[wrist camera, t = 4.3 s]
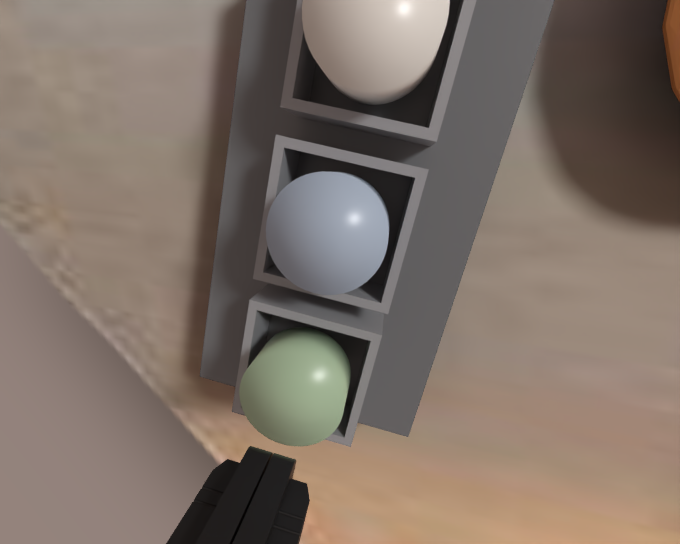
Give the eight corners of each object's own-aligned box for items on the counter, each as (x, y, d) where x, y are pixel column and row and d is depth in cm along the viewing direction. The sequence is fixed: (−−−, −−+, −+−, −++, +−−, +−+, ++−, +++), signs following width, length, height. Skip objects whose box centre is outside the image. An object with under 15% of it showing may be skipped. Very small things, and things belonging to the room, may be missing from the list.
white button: (307, 91, 14) (290, 75, 12) (331, -44, 13) (317, -92, 10) (420, 116, 14) (425, 104, 11) (456, -21, 12) (470, -66, 10)
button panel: (223, 351, 23) (173, 403, 18) (278, -32, 17) (227, -119, 12) (406, 403, 22) (409, 473, 17) (531, 16, 16) (594, -56, 11)
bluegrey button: (277, 263, 16) (257, 278, 14) (295, 160, 15) (276, 158, 12) (374, 288, 16) (371, 308, 13) (401, 185, 14) (403, 187, 12)
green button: (253, 396, 18) (232, 429, 16) (267, 316, 17) (247, 339, 14) (339, 421, 18) (331, 458, 15) (360, 341, 16) (355, 369, 14)
